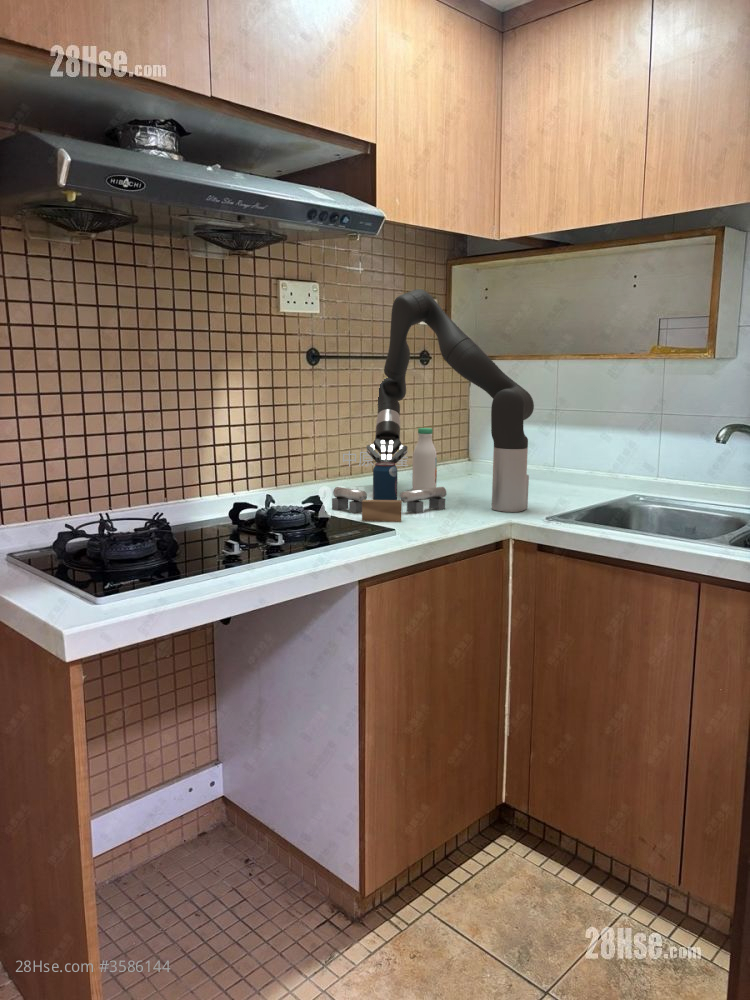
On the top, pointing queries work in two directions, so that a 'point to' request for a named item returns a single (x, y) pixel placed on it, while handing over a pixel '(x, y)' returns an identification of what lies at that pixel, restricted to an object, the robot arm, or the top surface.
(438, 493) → the shaft
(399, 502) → the block
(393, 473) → the soda can
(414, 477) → the milk bottle
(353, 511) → the shaft
